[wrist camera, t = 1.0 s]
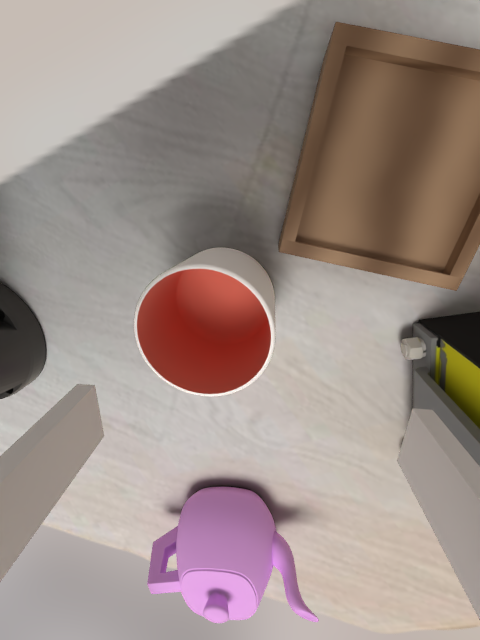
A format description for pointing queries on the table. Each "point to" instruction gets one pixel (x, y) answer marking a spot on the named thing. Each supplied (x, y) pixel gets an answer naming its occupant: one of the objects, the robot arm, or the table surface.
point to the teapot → (224, 556)
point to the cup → (208, 323)
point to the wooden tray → (390, 159)
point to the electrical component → (448, 373)
